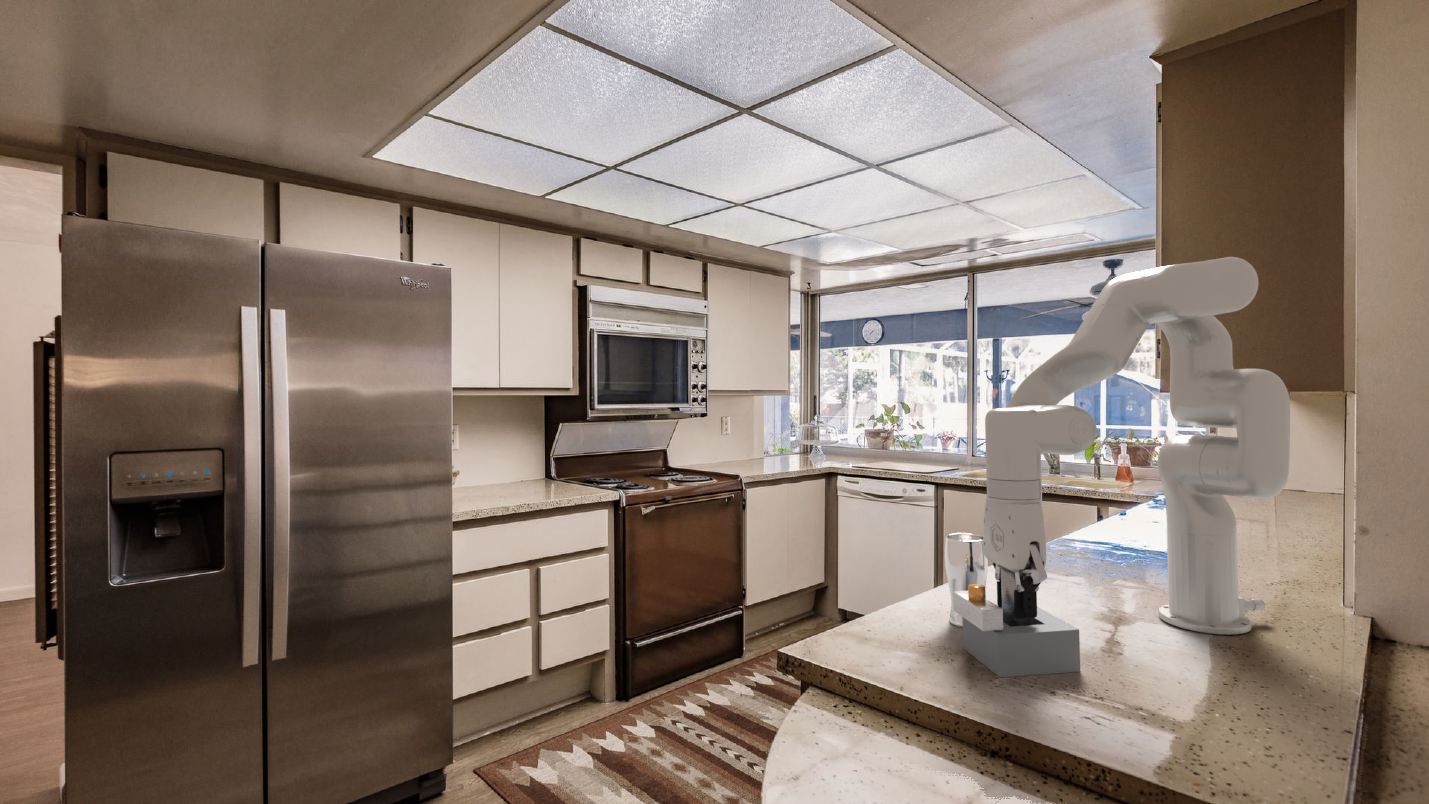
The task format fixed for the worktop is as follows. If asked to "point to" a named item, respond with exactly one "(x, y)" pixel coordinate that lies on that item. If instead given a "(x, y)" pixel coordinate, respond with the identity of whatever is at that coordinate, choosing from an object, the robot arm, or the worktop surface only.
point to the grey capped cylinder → (1011, 597)
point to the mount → (1026, 647)
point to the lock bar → (978, 608)
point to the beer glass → (964, 566)
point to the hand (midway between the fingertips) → (1016, 610)
